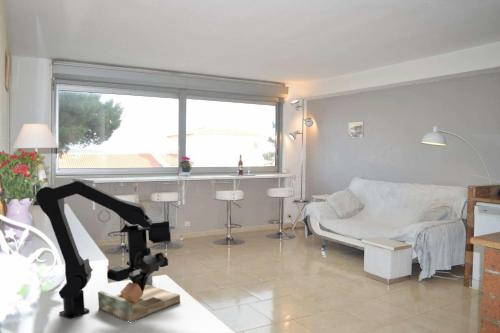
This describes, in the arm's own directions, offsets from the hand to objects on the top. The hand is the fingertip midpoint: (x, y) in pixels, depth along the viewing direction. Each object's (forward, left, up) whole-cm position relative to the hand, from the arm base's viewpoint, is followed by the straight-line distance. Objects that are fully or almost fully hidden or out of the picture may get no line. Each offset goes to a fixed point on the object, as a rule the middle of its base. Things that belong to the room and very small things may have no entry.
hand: (140, 294), depth 123 cm
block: (0, -3, 0) cm, 3 cm away
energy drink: (-16, +13, -4) cm, 21 cm away
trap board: (0, 0, -4) cm, 4 cm away
